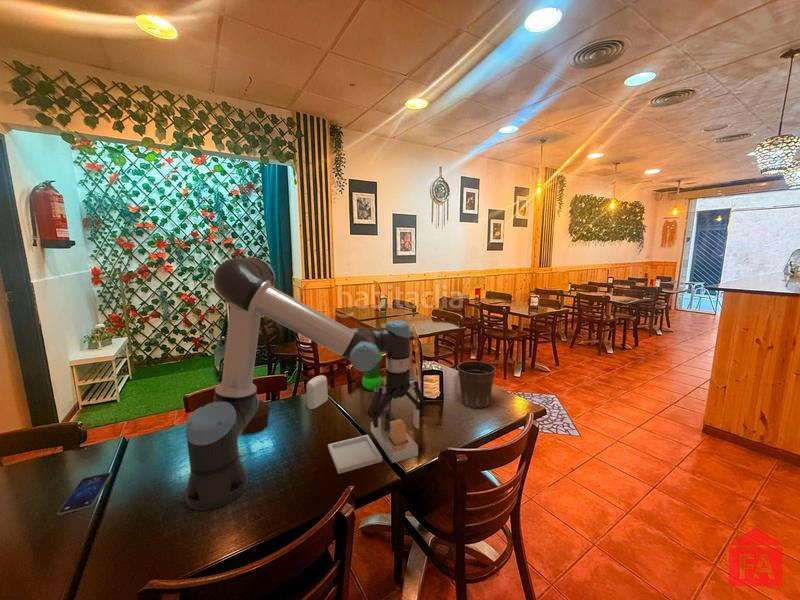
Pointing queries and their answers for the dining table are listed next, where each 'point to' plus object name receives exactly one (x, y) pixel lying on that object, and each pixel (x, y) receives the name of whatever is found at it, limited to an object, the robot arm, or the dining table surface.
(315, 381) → the photo printer
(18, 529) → the dining table surface
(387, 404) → the beverage can
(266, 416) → the muffin
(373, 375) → the plastic bottle
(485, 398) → the plant pot
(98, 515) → the dining table surface
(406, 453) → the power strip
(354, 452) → the tray
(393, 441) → the tan rectangular block
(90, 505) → the smartphone
